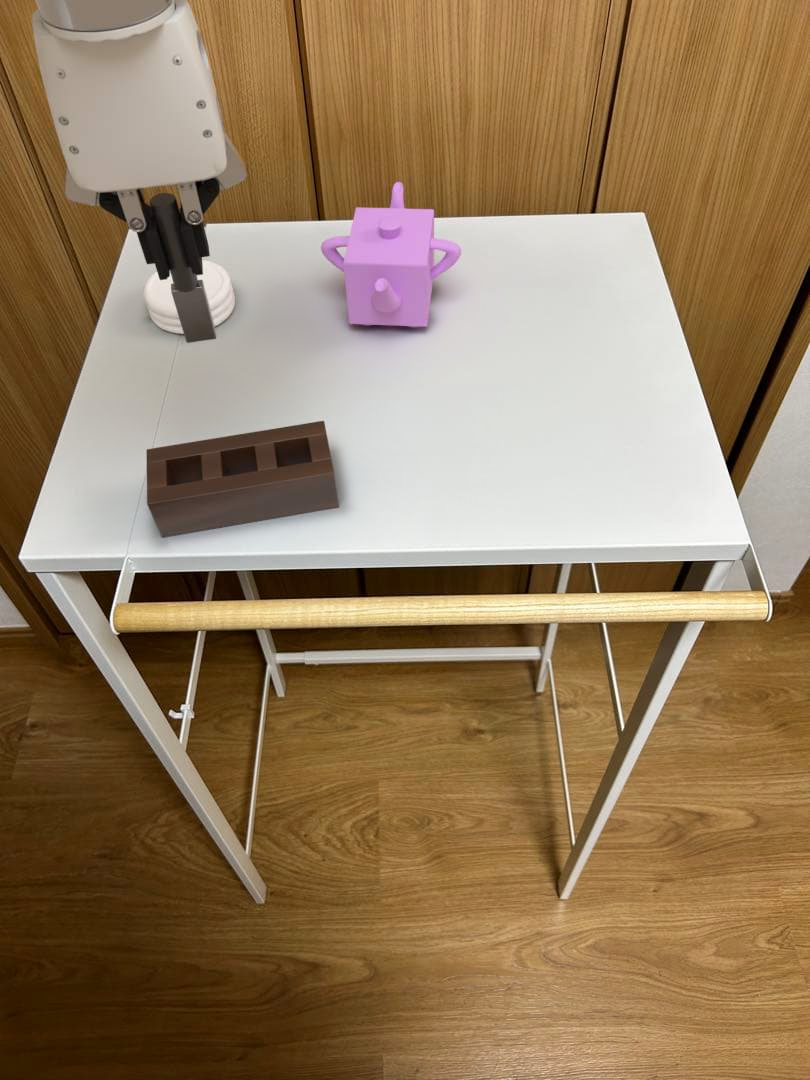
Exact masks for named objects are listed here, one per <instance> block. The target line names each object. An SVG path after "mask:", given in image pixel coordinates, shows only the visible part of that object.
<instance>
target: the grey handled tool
mask: <svg viewBox="0 0 810 1080" xmlns="http://www.w3.org/2000/svg"><path fill="white" fill-rule="evenodd" d="M149 206H151V209H152V212H153V216H154V219H155V222H156V225H157V228H158V232H159V235H160V238H161V242H162V245H163V249H164V252H165V255H166V259H167V262H168V265H169V269H170V273H171V276H172V280H173V284H171V293H172V296H173V299H174V303H175V306H176V309H177V313H178V316H179V319H180V323H181V326H182V329H183V332H184V334H183V336H184V339H185V342H186V343H187V344H190V343H197V342H204V341H211V340H216V339H217V330H216V326H214V322H213V318H212V314H211V310H210V307H209V303H208V299H207V295H206V291H205V288H204V284H203V280H198V279H197V275H196V274H193V273H192V269H191V266H190V262H189V259H188V255H187V251H186V248H185V244H184V240H183V237H182V233H181V227H180V220H181V215H180V207H179V204H178V201H177V197H176V195H174V194H173V193H170V192H159V193H157V194H155V195H153V196H151V198H150V200H149Z"/></svg>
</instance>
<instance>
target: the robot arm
mask: <svg viewBox="0 0 810 1080" xmlns="http://www.w3.org/2000/svg"><path fill="white" fill-rule="evenodd" d="M34 1H35V4H36V7H37V9H35V11H34V12H33V13H32V14H31V23H32V24H31V26H32V32H33V39H34V45H35V52H36V57H37V61H38V67H39V70H40V75H41V79H42V84H43V87H44V92H45V95H46V99H47V102H48V106H49V110H50V114H51V118H52V121H53V125H54V127H55V132H56V135H57V139H58V141H59V145H60V149H61V151H62V155H63V157H64V160H65V163H66V169H65V170H66V171H65V187H64V194H65V197H66V199H67V200H68V201H70V202H73V203H78V204H82V205H88V206H92V207H97V206H98V207H100V208H102V209H103V211H106V212H108V213H109V214H112V215H113V216H114V217H116V218H118V219H119V220H121V221H123V222H125V223H127V227H128V228H129V229H130V230H131V231H132V232H134V233H136V235H137V239H138V241H139V245H140V248H141V250H142V253H143V254H142V255H143V257H144V260H145V263H146V265H155V269H156V271H157V272H158V276H159V279H160V280H165V279H167V277H170V269H169V265H168V262H167V259H166V255H165V252H164V249H163V245H162V242H161V238H160V235H159V232H158V228H157V225H156V222H155V219H154V216H153V212H152V209H151V205H150V204H148V203H147V200H146V198H145V193H144V191H143V189H149V188H157V187H158V188H159V187H165V186H172V185H176V188H177V191H178V195H179V200H180V202H179V203H180V207H179V212H180V215H181V220H180V227H181V233H182V237H183V240H184V244H185V248H186V251H187V255H188V259H189V262H190V266H191V269H192V273H193V274H196V275H203V265H202V260H203V258H207V257H210V256H211V254H210V247H209V246H210V245H209V240H208V236H207V233H206V229H205V225H204V221H203V220H204V214H206V212H207V210H209V208H210V207H211V206H212V205H213V203H214V201H215V200H216V199H217V198H218V196H219V194H220V193H221V192H222V191H227V190H228V189H231V188H232V187H234V186H235V185H237V184H239V183H241V182H243V181H245V180H246V178H247V165H246V162H245V161H244V159H243V157H242V156H241V154H240V153H239V150H238V149H237V148H236V146H235V144H234V143H233V141H232V140H231V138H230V137H229V136H228V134H227V132H226V129H225V124H224V119H223V113H222V110H221V105H220V101H219V97H218V92H217V89H216V85H215V81H214V77H213V73H212V68H211V65H210V62H209V61H210V60H209V57H208V53H207V51H206V48H205V47H206V46H205V43H204V41H203V38H202V35H201V31H200V29H199V26H198V24H197V20H196V17H195V14H194V12H193V10H192V8H191V5H190V3H189V1H188V0H34Z"/></svg>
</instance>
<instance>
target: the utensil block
mask: <svg viewBox="0 0 810 1080" xmlns="http://www.w3.org/2000/svg"><path fill="white" fill-rule="evenodd" d="M325 423H326V422H325V420H319V421H313V422H306V423H299V424H295V425H288V426H281V427H277V428H270V429H264V430H257V431H251V432H245V433H239V434H233V435H227V436H226V435H225V436H220V437H215V438H208V439H202V440H196V441H190V442H183V443H178V444H172V445H165V446H159V447H153V448H147V449H146V454H145V455H146V505H147V508H148V510H149V512H150V514H151V516H152V518H153V521H154V523H155V525H156V527H157V530H158V532H159V534H160V536H161V538H168V537H173V536H180V535H185V534H190V533H198V532H203V531H209V530H215V529H221V528H226V527H232V526H237V525H244V524H250V523H255V522H261V521H268V520H273V519H278V518H284V517H290V516H295V515H301V514H308V513H314V512H318V511H325V510H331V509H336V508H340V501H339V495H338V489H337V483H336V475H335V470H334V464H333V459H332V454H331V450H330V444H329V438H328V434H327V429H326V424H325Z"/></svg>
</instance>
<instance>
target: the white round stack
mask: <svg viewBox="0 0 810 1080" xmlns="http://www.w3.org/2000/svg"><path fill="white" fill-rule="evenodd" d="M202 265H203V275H197V279H198V280H203V284H204V288H205V291H206V295H207V299H208V303H209V307H210V310H211V314H212V318H213V322H214V326H215V327H218V326H219V325H220V324H222V323H223V322H224V321H226V320H227V319H228V318H229V317H230V315H231V314H232V313H233V311H234V309H235V304H236V296H235V293H234V288H233V285H232V279H231V277H230V274H229V273H228V271H227V270H226V269H225V268H224V267H223V266H221V265H220V264H218V263H215V262H214V261H209V260H205V259H202ZM171 284H173V280H172V276H171V273H170V277H167V279H165V280H160V279H159V276H158V272H157V270H156V271H155V272H153V273H152V275H150V277H149V278H148V279H147V280H146V282H145V284H144V286H143V299H144V301H145V304H146V308H147V310H148V313H149V317H150V319H151V321H153V323H154V324H155V325H156V326H157V327H159V328H160V329H162V330H164V331H166V332H169V333H172V334H178V335H179V334H181V335H184V332H183V329H182V326H181V323H180V319H179V316H178V313H177V309H176V306H175V303H174V299H173V296H172V293H171Z"/></svg>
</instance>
